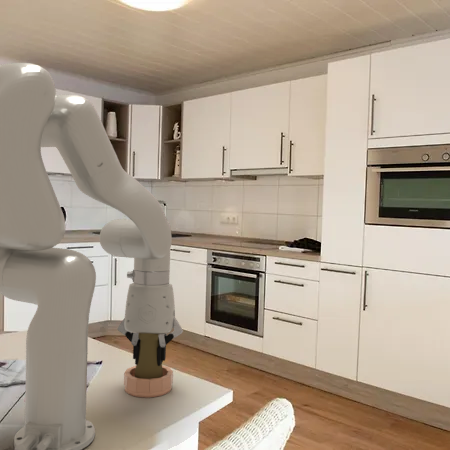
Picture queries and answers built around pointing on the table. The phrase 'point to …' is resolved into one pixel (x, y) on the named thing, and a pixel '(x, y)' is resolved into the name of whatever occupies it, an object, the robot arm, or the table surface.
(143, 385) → the copper faceted bowl
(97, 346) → the table surface
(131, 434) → the table surface
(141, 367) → the cork
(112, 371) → the table surface
